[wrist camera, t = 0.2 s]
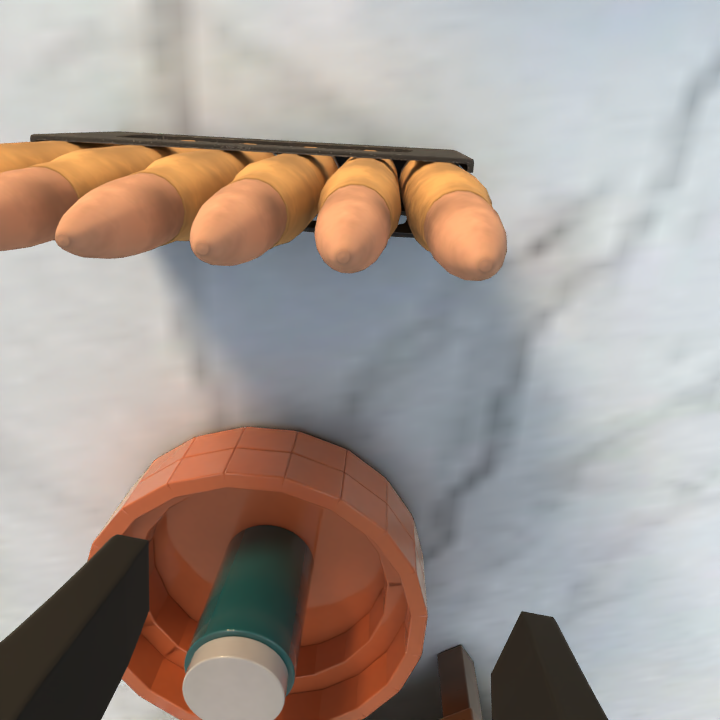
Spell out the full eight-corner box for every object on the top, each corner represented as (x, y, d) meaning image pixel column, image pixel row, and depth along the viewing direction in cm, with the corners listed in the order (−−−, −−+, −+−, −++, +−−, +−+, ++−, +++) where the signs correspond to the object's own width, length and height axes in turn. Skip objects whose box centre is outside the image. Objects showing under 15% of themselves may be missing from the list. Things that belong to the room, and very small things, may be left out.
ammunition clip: (460, 150, 18) (579, 191, 7) (453, 212, 19) (551, 341, 7) (113, 131, 18) (-323, 140, 7) (119, 193, 19) (-269, 290, 8)
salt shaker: (259, 607, 25) (221, 749, 19) (207, 547, 23) (151, 678, 18) (331, 574, 24) (313, 711, 18) (280, 510, 23) (245, 635, 17)
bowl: (239, 698, 27) (219, 776, 24) (61, 509, 24) (9, 570, 20) (474, 598, 24) (487, 670, 21) (312, 365, 21) (299, 409, 18)
